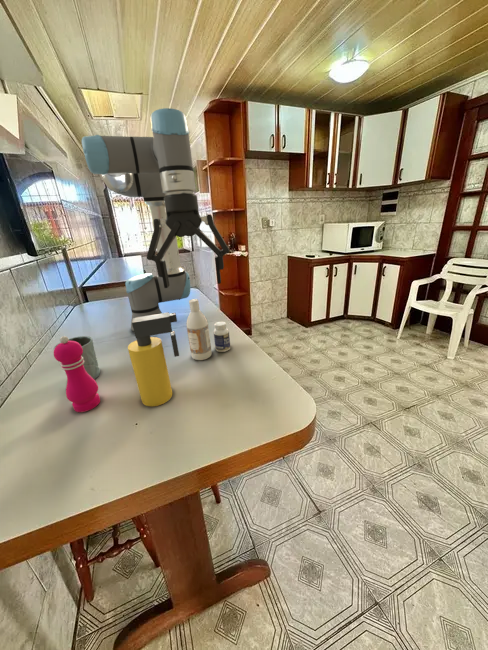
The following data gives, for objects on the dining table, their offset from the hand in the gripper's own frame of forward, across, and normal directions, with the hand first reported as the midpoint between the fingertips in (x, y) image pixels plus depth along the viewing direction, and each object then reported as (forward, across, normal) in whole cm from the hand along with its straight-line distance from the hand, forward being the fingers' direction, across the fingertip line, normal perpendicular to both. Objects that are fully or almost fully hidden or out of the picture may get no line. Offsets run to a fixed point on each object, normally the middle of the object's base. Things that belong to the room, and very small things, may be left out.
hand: (193, 284), depth 69 cm
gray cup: (+28, -39, +6) cm, 48 cm away
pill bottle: (+28, +4, +17) cm, 33 cm away
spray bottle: (+28, -10, -7) cm, 31 cm away
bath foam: (+28, -3, +13) cm, 31 cm away
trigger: (+16, -6, -6) cm, 19 cm away
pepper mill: (+28, -31, -9) cm, 43 cm away
